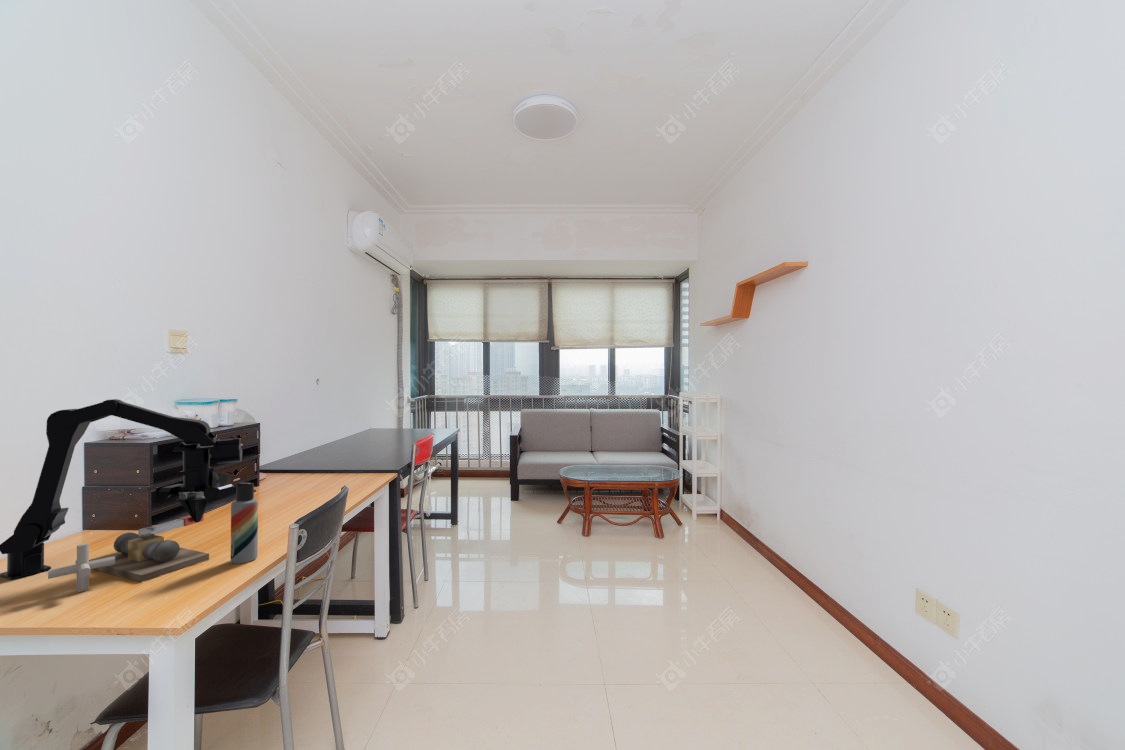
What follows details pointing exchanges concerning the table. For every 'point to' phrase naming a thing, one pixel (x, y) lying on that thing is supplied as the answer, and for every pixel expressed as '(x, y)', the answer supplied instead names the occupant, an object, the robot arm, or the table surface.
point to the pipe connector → (81, 567)
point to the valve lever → (166, 526)
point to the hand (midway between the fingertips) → (197, 522)
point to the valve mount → (149, 557)
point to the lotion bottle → (244, 524)
